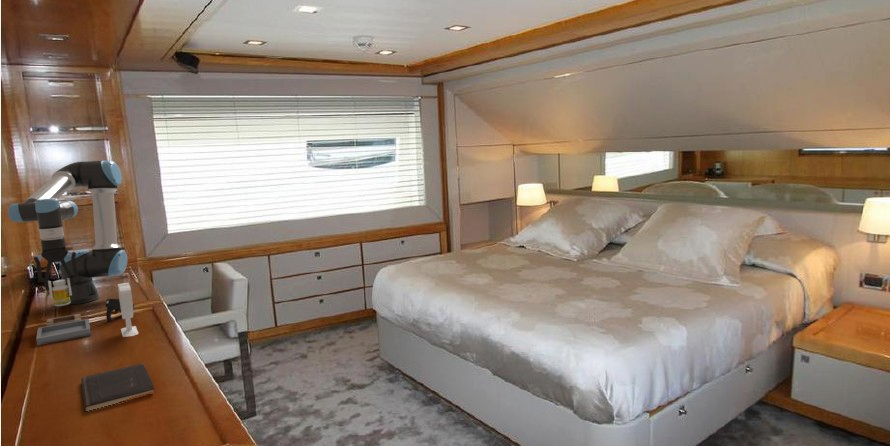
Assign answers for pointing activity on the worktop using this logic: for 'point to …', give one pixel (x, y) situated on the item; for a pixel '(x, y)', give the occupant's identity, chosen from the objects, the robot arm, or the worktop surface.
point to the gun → (113, 307)
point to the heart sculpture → (126, 309)
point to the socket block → (63, 319)
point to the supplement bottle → (60, 293)
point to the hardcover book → (115, 386)
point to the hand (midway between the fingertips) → (61, 296)
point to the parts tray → (63, 331)
